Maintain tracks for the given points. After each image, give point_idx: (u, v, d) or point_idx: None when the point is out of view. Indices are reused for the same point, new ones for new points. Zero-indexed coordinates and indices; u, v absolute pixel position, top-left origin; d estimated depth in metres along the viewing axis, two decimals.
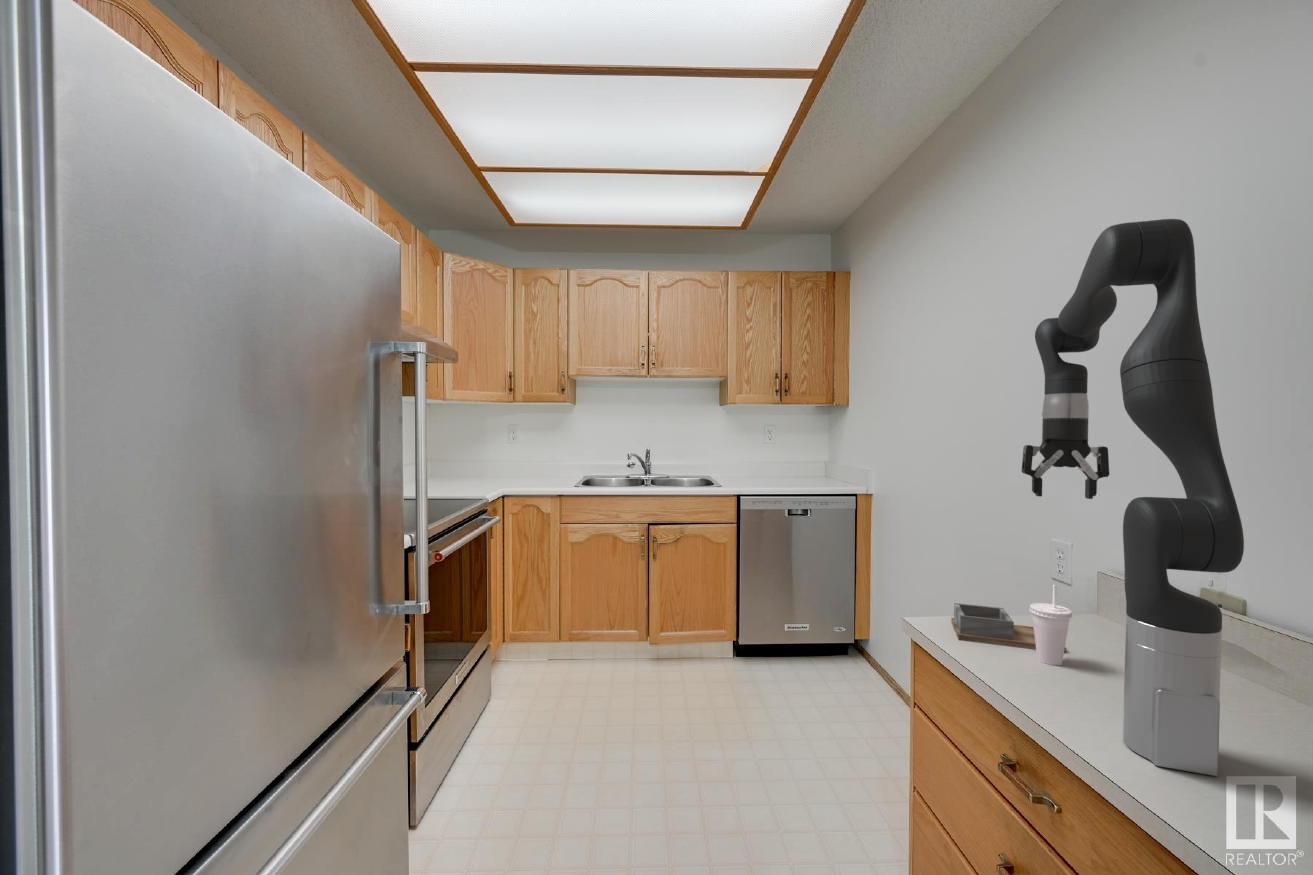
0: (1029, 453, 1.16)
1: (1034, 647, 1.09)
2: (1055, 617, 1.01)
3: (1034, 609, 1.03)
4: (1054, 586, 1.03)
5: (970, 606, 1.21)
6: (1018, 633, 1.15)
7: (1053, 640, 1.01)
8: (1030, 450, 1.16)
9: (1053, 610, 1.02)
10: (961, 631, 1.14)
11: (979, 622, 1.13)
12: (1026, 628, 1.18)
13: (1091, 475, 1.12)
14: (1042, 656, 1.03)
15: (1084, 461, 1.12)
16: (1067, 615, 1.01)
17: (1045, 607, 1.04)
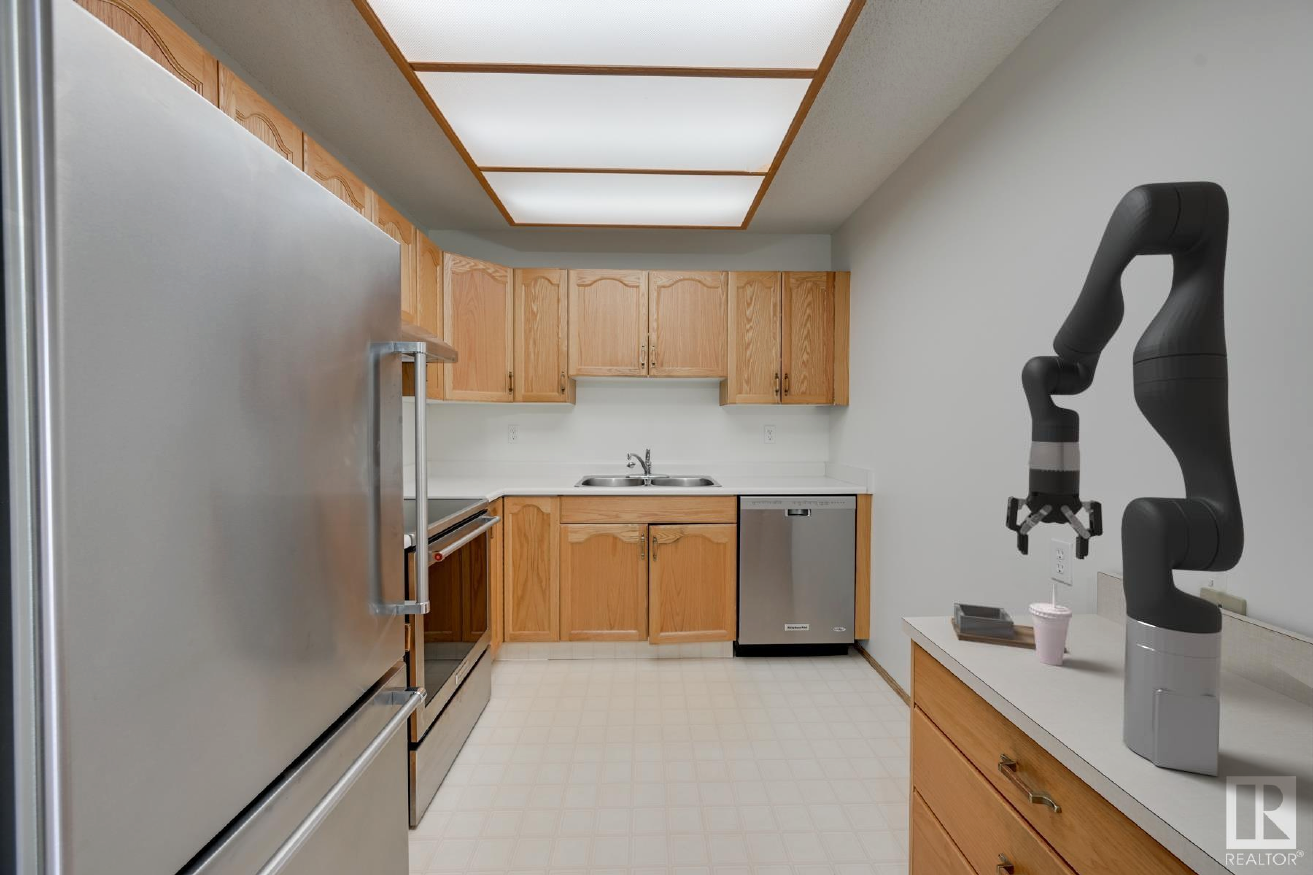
0: (1014, 507, 1.04)
1: (1034, 647, 1.09)
2: (1055, 617, 1.01)
3: (1034, 609, 1.03)
4: (1054, 586, 1.03)
5: (970, 606, 1.21)
6: (1018, 633, 1.15)
7: (1053, 640, 1.01)
8: (1015, 503, 1.04)
9: (1053, 610, 1.02)
10: (961, 631, 1.14)
11: (979, 622, 1.13)
12: (1026, 628, 1.18)
13: (1082, 533, 1.01)
14: (1042, 656, 1.03)
15: (1075, 518, 1.00)
16: (1067, 615, 1.01)
17: (1045, 607, 1.04)
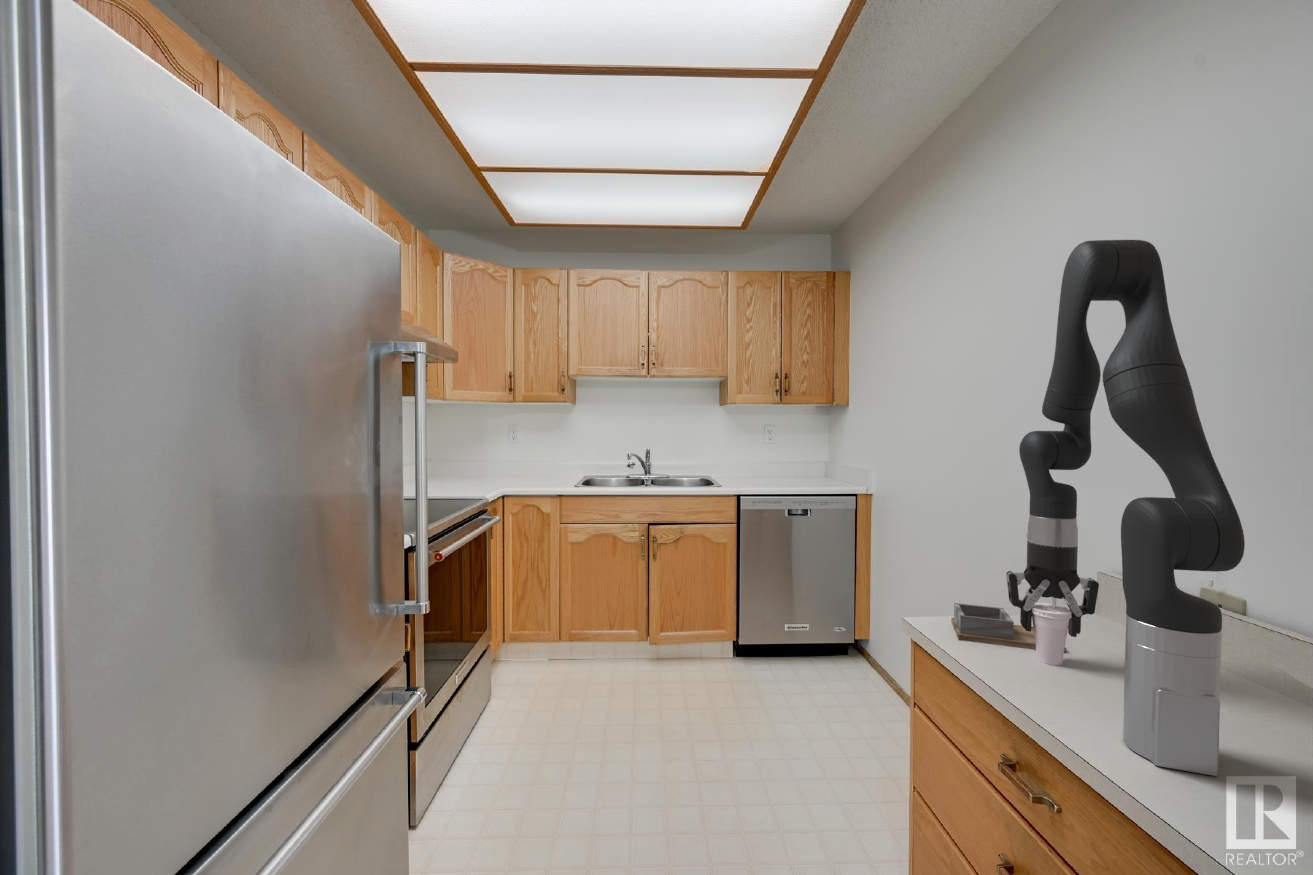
0: (1013, 583, 1.04)
1: (1034, 647, 1.09)
2: (1055, 617, 1.01)
3: (1034, 609, 1.03)
4: None
5: (970, 606, 1.21)
6: (1018, 633, 1.15)
7: (1053, 639, 1.01)
8: (1014, 579, 1.04)
9: (1053, 610, 1.02)
10: (961, 631, 1.14)
11: (979, 622, 1.13)
12: None
13: (1075, 611, 1.01)
14: (1042, 656, 1.03)
15: (1071, 595, 1.01)
16: (1067, 615, 1.01)
17: (1045, 607, 1.04)
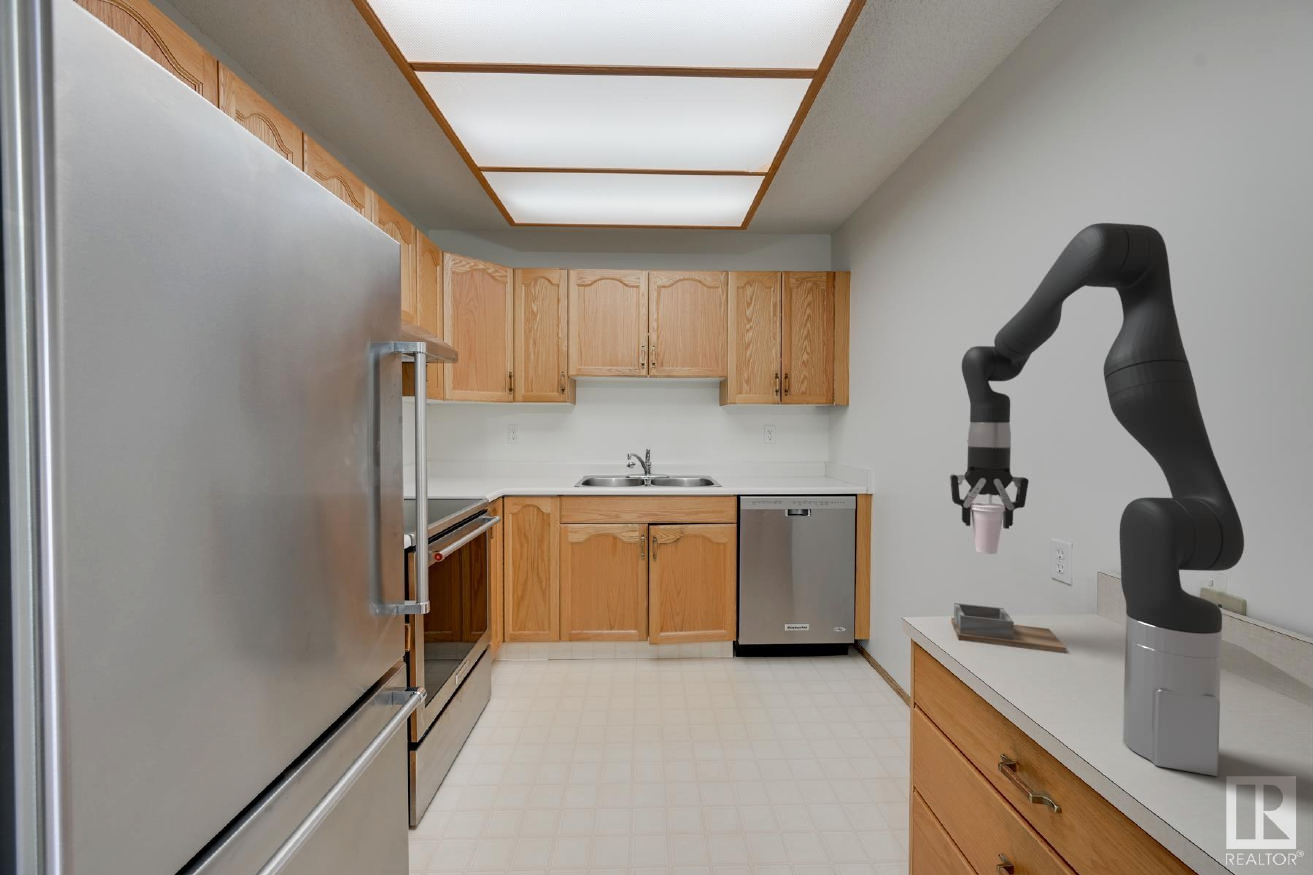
0: (955, 483, 1.17)
1: (1034, 647, 1.09)
2: (989, 510, 1.14)
3: (972, 505, 1.16)
4: None
5: (970, 606, 1.21)
6: (1018, 633, 1.15)
7: (988, 531, 1.14)
8: (955, 480, 1.17)
9: (988, 505, 1.15)
10: (961, 631, 1.14)
11: (979, 622, 1.13)
12: (1026, 628, 1.18)
13: (1007, 505, 1.14)
14: (979, 547, 1.16)
15: (1004, 491, 1.14)
16: (1000, 508, 1.13)
17: (982, 504, 1.16)
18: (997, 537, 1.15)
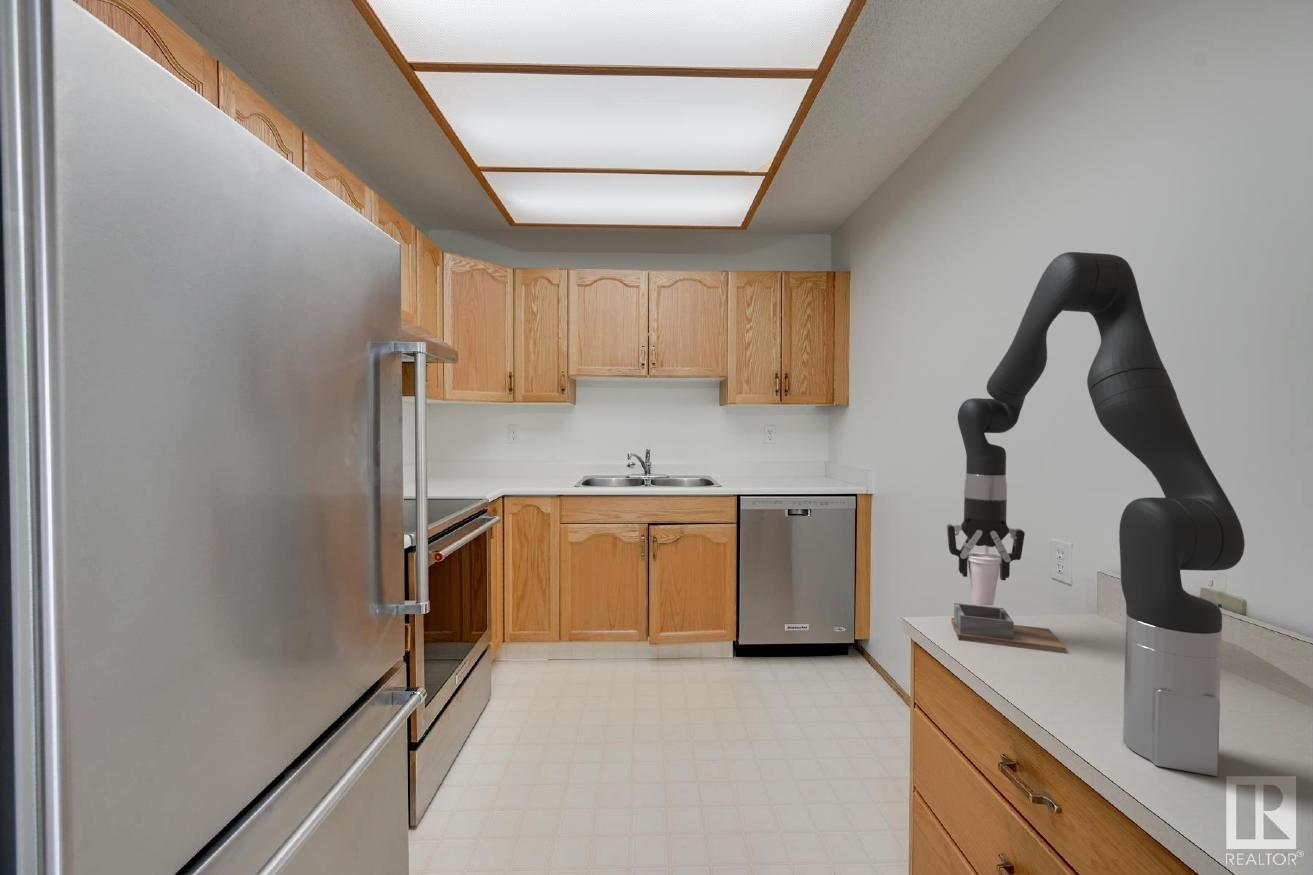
0: (951, 534, 1.18)
1: (1034, 647, 1.09)
2: (986, 562, 1.14)
3: (969, 556, 1.17)
4: None
5: (970, 606, 1.21)
6: (1018, 633, 1.15)
7: (985, 582, 1.15)
8: (952, 531, 1.18)
9: (985, 557, 1.15)
10: (961, 631, 1.14)
11: (979, 622, 1.13)
12: (1026, 628, 1.18)
13: (1004, 557, 1.14)
14: (976, 598, 1.16)
15: (1000, 543, 1.14)
16: (997, 560, 1.14)
17: (979, 555, 1.17)
18: (994, 589, 1.15)
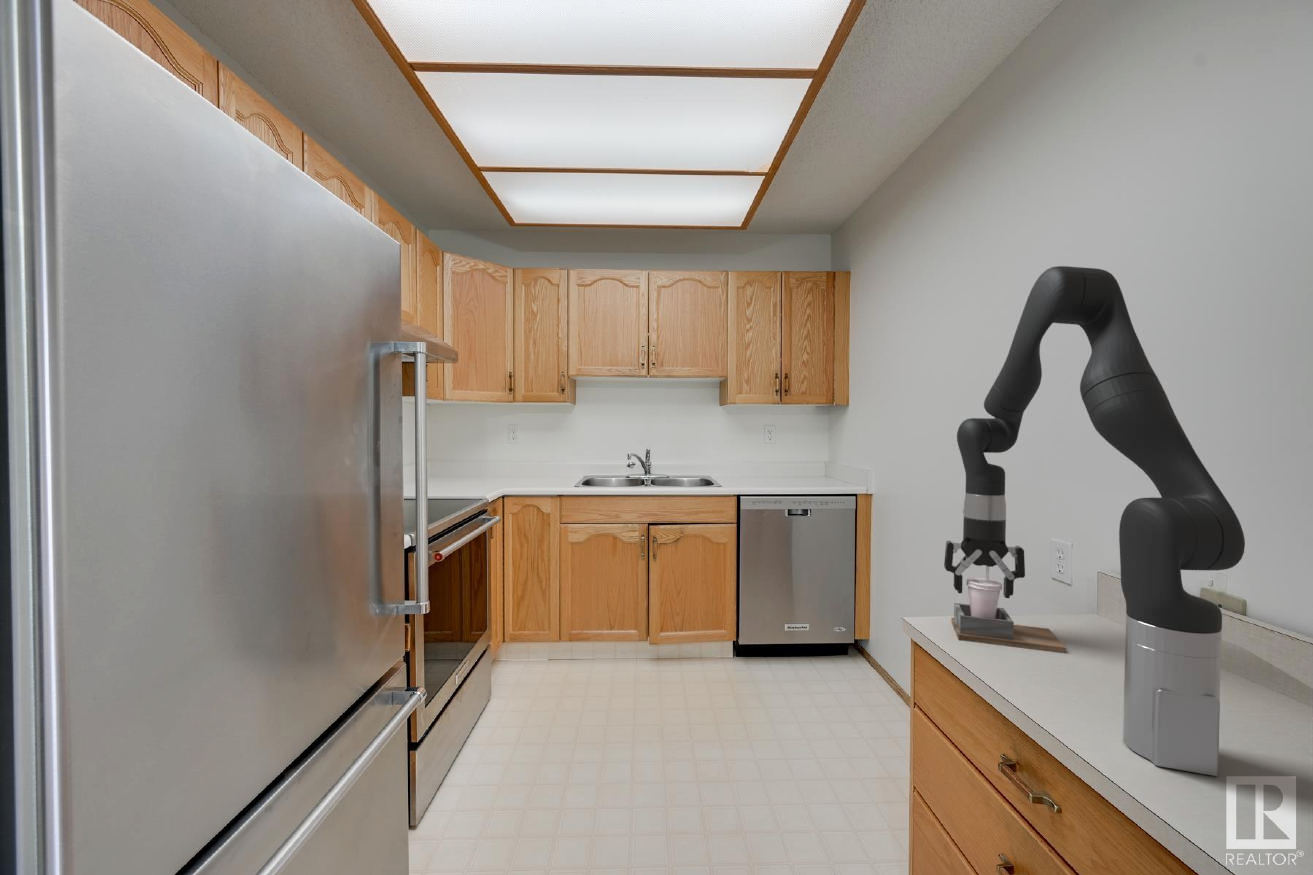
0: (950, 551, 1.18)
1: (1034, 647, 1.09)
2: (986, 588, 1.14)
3: (969, 582, 1.17)
4: None
5: None
6: (1018, 633, 1.15)
7: (984, 609, 1.15)
8: (951, 548, 1.18)
9: (985, 583, 1.16)
10: (961, 631, 1.14)
11: (979, 622, 1.13)
12: (1026, 628, 1.18)
13: (1008, 575, 1.14)
14: None
15: (1001, 562, 1.14)
16: (997, 587, 1.14)
17: (979, 581, 1.17)
18: (993, 615, 1.15)
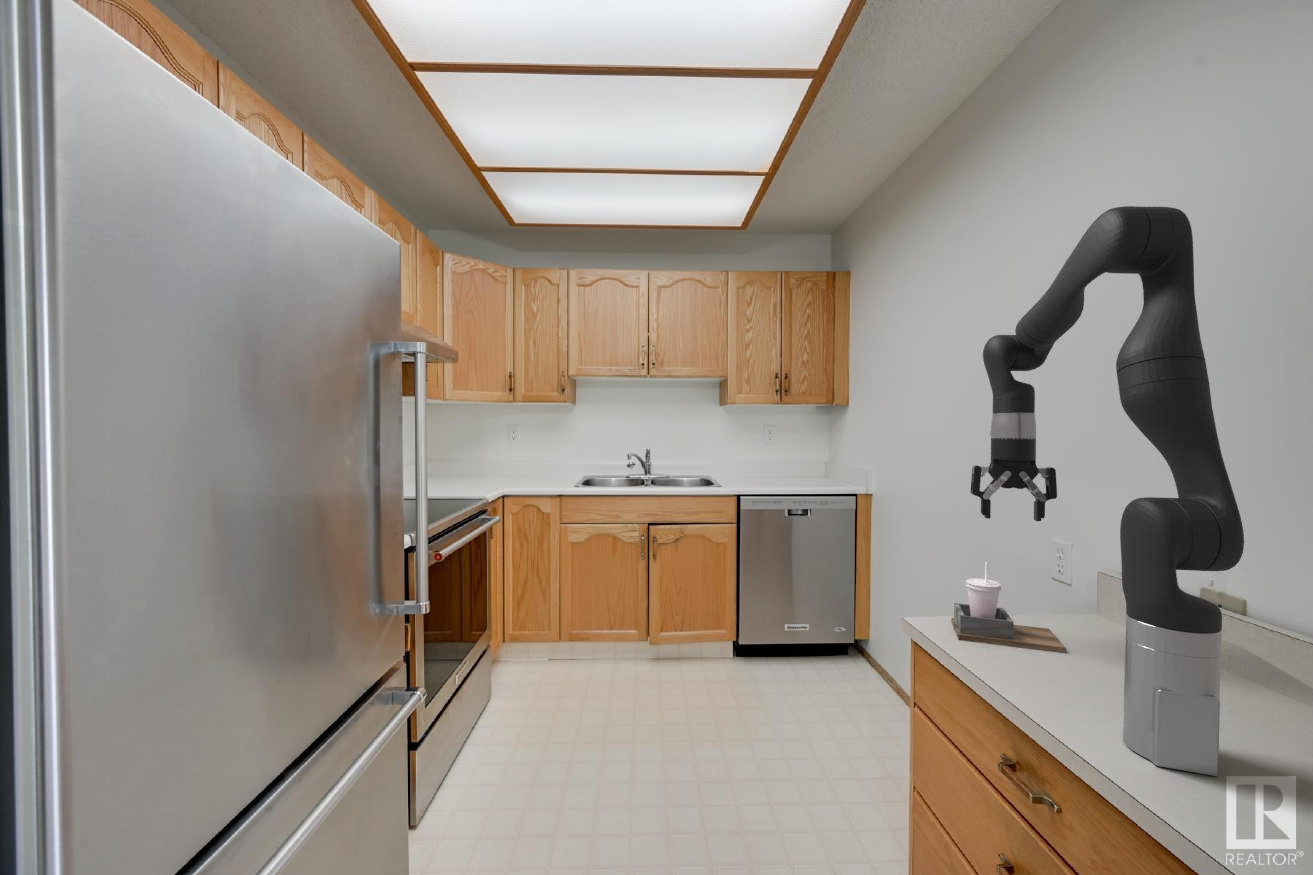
0: (977, 474, 1.13)
1: (1034, 647, 1.09)
2: (985, 589, 1.14)
3: (968, 583, 1.17)
4: (986, 562, 1.16)
5: None
6: (1018, 633, 1.15)
7: (984, 609, 1.15)
8: (978, 471, 1.13)
9: (984, 584, 1.15)
10: (961, 631, 1.14)
11: (979, 622, 1.13)
12: (1026, 628, 1.18)
13: (1039, 497, 1.09)
14: None
15: (1032, 482, 1.09)
16: (996, 588, 1.14)
17: (978, 581, 1.17)
18: (993, 616, 1.15)
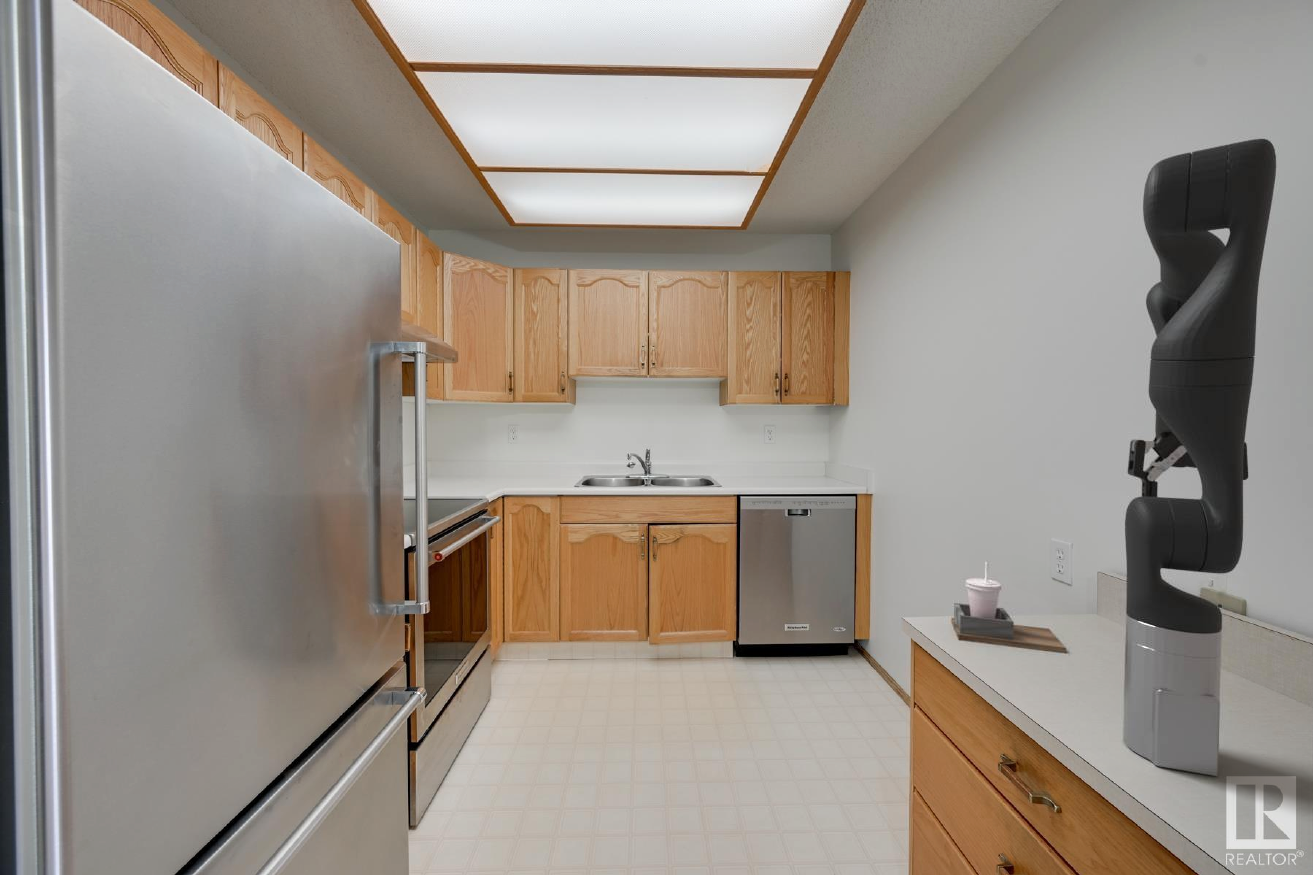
0: (1140, 450, 0.92)
1: (1034, 647, 1.09)
2: (985, 589, 1.14)
3: (968, 583, 1.17)
4: (986, 562, 1.16)
5: None
6: (1018, 633, 1.15)
7: (984, 609, 1.15)
8: (1142, 446, 0.92)
9: (985, 584, 1.15)
10: (961, 631, 1.14)
11: (979, 622, 1.13)
12: (1026, 628, 1.18)
13: None
14: None
15: None
16: (996, 588, 1.14)
17: (978, 581, 1.17)
18: (993, 616, 1.15)
